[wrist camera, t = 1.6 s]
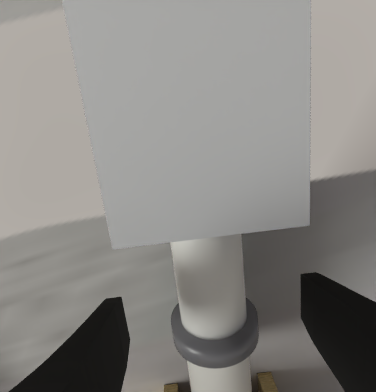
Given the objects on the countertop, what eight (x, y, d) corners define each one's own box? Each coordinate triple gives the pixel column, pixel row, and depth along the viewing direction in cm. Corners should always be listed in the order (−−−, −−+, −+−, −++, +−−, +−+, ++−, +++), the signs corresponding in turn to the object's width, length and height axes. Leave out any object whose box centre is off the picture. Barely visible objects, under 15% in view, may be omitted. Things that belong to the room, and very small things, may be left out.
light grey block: (111, 35, 12) (51, -49, 6) (247, 20, 13) (311, -77, 7) (139, 198, 15) (112, 249, 9) (255, 185, 15) (309, 225, 9)
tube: (132, 25, 12) (108, -28, 8) (227, 15, 12) (254, -45, 8) (181, 357, 16) (182, 434, 12) (249, 349, 16) (273, 423, 12)
